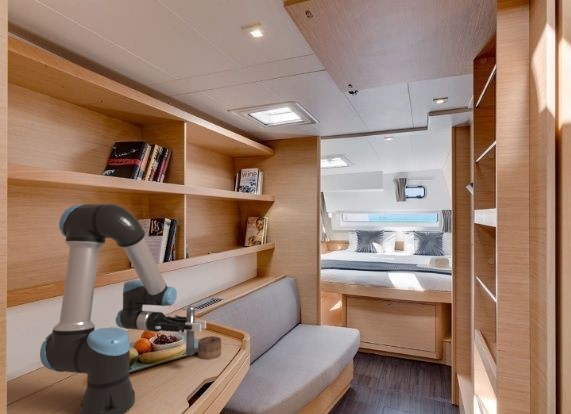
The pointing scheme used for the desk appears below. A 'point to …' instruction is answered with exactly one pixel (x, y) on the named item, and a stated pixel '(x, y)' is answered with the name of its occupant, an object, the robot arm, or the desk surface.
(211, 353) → the bead
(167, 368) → the desk surface
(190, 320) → the round-tipped metal rod
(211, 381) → the desk surface
